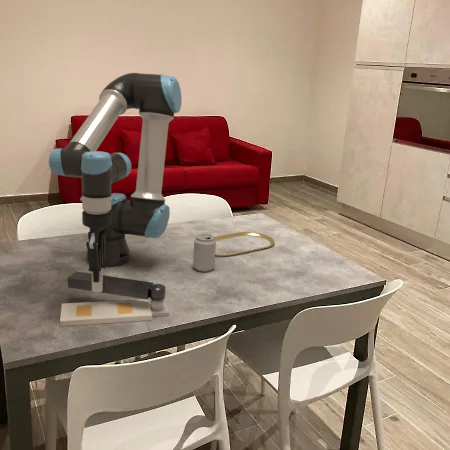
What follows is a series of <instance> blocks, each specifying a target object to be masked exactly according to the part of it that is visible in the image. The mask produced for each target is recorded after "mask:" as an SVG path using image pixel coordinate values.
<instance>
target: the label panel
mask: <svg viewBox="0 0 450 450" xmlns="http://www.w3.org/2000/svg"><path fill="white" fill-rule="evenodd" d="M164 299H165V298H164ZM164 299H163V300H152V299H150V302H149V299H148V300H146V299H140V298H137V299H123V300H122V299H120V300H107V301H105V300H104V301H87V302H71V303H70V302H68V303H67V302H66V303H61V309H60V318H59V319H60V320H59V327H70V326H84V325H99V324H101V325H102V324H114V323H116V324H117V323H130V322H144V321H146V322H147V321H153V317H165V316H170V311H169V307H168V304H167V302H165V301H164Z"/></svg>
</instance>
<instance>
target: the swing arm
mask: <svg viewBox="0 0 450 450" xmlns="http://www.w3.org/2000/svg"><path fill="white" fill-rule="evenodd" d="M66 279H67V288H68V289H74V290H83V291H88V292H92V272H83V271H74V272H73V273H71V274H70V275H69V276H68V277H67V278H66ZM99 293H102V294H108V295H114V296H115V295H116V296H120V297H121V296H122V297H128V298H134V299H146V300H148V301H149V299H150V300H151V299H152V300H163V299H165V298H166V286H165V285H164V284H161V283H154V282H151V281H145V280H138V279H133V278H132V279H129V278H123V277H117V276H109V275H103V291H102V292H99Z"/></svg>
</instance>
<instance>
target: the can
mask: <svg viewBox="0 0 450 450" xmlns="http://www.w3.org/2000/svg"><path fill="white" fill-rule="evenodd" d="M214 237H215V236H214V235H212V234H210V233H209V234H208V233H200V234H197V235H196V237H195V239H194V241H193V257H192V258H193V259H192V260H193V261H192V267H193V269H195V270H196V271H198V272H203V273H204V272H205V273H206V272H208V273H209V272H211V271H212V270H214V269H215V261H216V260H215V259H216V256H215V254H216V245H217V241H215V239H214Z"/></svg>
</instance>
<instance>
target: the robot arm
mask: <svg viewBox="0 0 450 450" xmlns="http://www.w3.org/2000/svg"><path fill="white" fill-rule="evenodd" d="M182 101H183V99H182V90H181V86H180V82H179V81H178V79H177V78H176V77H175V76H172V75H165V74H154V73H153V74H152V73H140V72H129V73H125V74H123V75H120V76H118V77H117V78H115V79H114V80H112V81H111V82H109V83H108V84H107V85H106V86H105V87H104V88H103V90H102V91H101V93H100V94H99V96H98V102H97V104H96V105H95V106H94V108H93V109H92V111H90V114H89V115H88V116H87V118H86V119H85V121H84V122H83V123H82V125H81V126H80V127H79V129H78V130H77V132H76V133H75V134H74V136H73V137H72V139H71V140H70V141H69V143H68V144H67V146H66V147H65V148H63V147H61V148H55V149H52V151H51V152H50V154H49V157H48V167H49V169H50V171H51V173H52V174H55V175H57V176H61V177H62V176H63V177H70V178H71V177H72V178H80V179H81V197H80V199H79V201H80V202H81V203H82V204H81V206H82V207H81V208H82V210H83V211H82V212H81V215H82V216H81V217H82V218H81V219H82V220H81V222H82V225H83V226H85V227H86V228H88V229H89V231H88V232H87V239H88V241H86V243H85V244H86V249H87V250H86V256H85V257H86V261H87V262H88V269H87V270H88V272H91V274H92V291H91V292H93V293H100V292H102V291H103V273H104V269H106V267H116V266H120V265H121V266H122V265H124V264H126V263H128V262H129V261H130V260H131V251H130V248H129V245H128V242H127V239H126V235H131V236H138V237H144V238H146V239H147V238H152V239H153V238H154V239H157V238H160V237H161V236H162V235H163V234H164V233H165V231H166V229H167V226H168V223H169V220H170V214H171V213H170V209H171V208H170V206H169V205H168V204H166V199H165V197H164V195H163V194H162V191H163V180H164V172H165V171H164V170H165V161H166V151H167V142H168V133H169V132H168V131H169V123H170V122H172V121H173V120H174V119H175V114H177V113H179V112H180V111H181V107H182V103H183V102H182ZM129 109H135V110H139V111H138V114H139V116H140V118H142V125H141V135H140V137H141V138H140V145H139V155H138V163H137V164H138V167H137V176H136V186H135V191H134V192H133V193H132V194H131V195H130V200H129V199H127V197H126V194H124V193H120V192H118V193H117V192H113V193H112V184H114V183H116V182H119V181H122V180H124V179H125V178H126V177H128V176H129V174H130V173H131V171H132V162H131V160H130V158H129V156H128V155H127V154H124V153H122V152H112V153H109V152H105V151H100V150H99V151H98V149H99V147H100V146H101V144H102V143H103V141H104V140H105V138H106V136H107V135H108V133H109V131H111V129H112V127H113V126H114V124H115V123H116V121H117V120H118V118H119V116H121V115H123V114H125V113H126V111H127V110H129Z"/></svg>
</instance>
